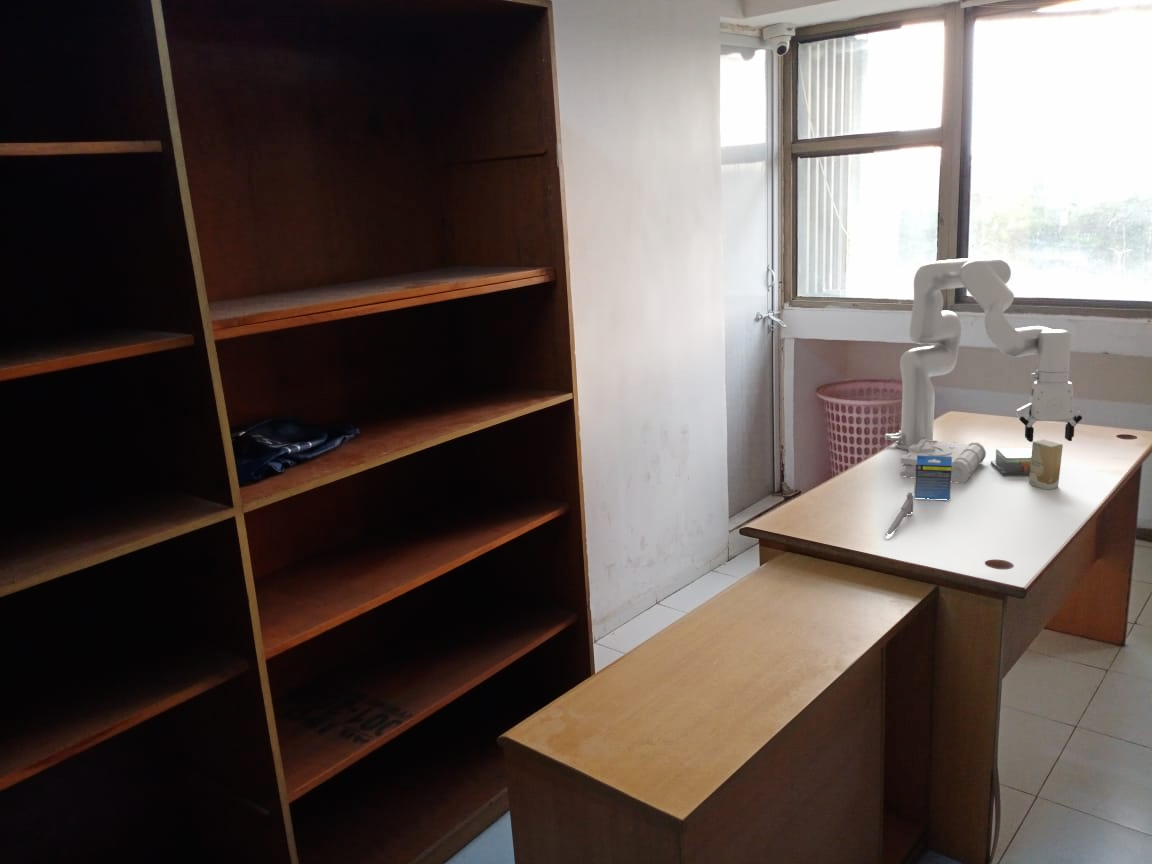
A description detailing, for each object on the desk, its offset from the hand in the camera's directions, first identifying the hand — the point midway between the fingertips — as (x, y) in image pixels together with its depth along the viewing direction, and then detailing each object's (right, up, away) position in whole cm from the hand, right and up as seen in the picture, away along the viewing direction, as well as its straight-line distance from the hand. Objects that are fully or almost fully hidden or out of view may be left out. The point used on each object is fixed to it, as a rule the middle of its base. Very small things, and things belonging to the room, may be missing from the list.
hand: (1048, 440), depth 247 cm
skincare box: (0, -13, +4) cm, 13 cm away
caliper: (-47, -21, -19) cm, 55 cm away
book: (-18, -9, +24) cm, 32 cm away
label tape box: (-32, -16, -1) cm, 35 cm away
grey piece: (+1, -9, +18) cm, 20 cm away
